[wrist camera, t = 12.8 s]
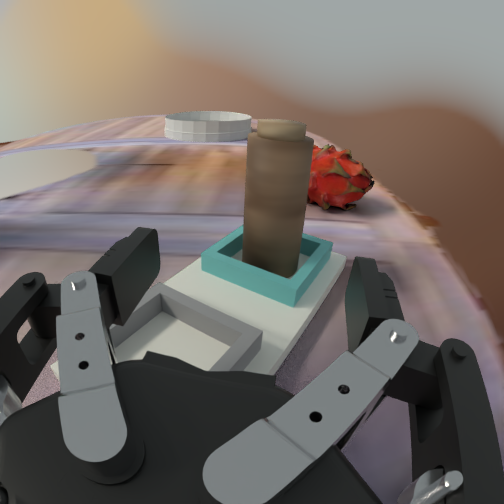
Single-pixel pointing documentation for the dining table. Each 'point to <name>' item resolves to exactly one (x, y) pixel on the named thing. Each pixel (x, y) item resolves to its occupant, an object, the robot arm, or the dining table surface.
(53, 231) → the dining table surface
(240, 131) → the dish
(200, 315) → the frame board
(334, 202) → the dragon fruit
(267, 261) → the jar
